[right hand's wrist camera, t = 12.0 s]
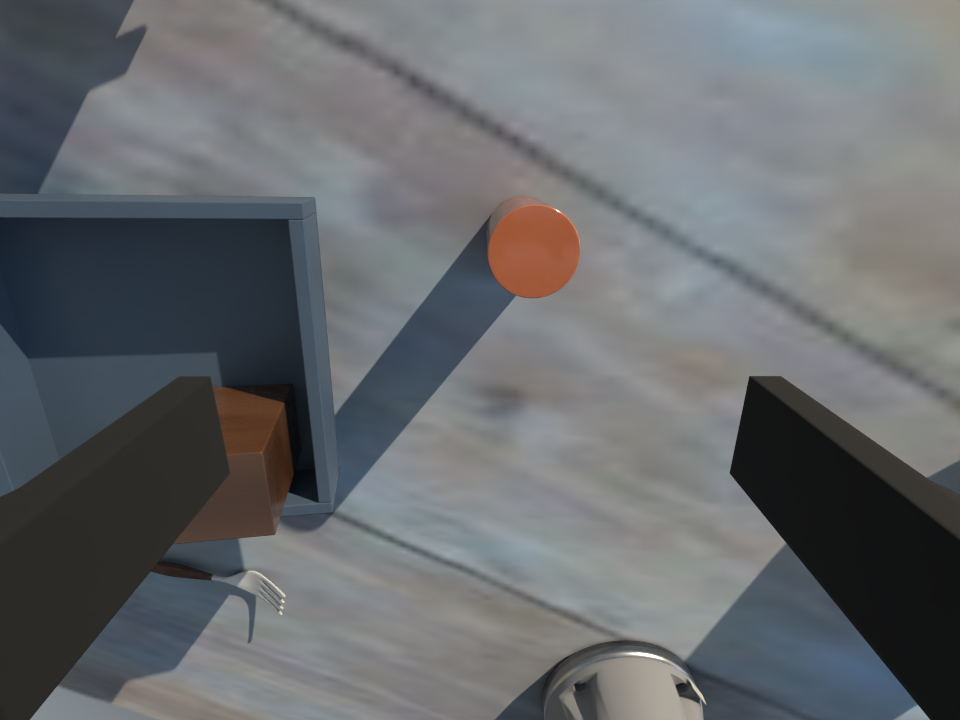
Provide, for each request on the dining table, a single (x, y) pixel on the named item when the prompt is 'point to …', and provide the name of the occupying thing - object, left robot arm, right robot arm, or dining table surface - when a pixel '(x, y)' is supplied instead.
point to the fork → (226, 580)
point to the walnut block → (251, 463)
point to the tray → (158, 319)
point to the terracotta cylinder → (531, 247)
